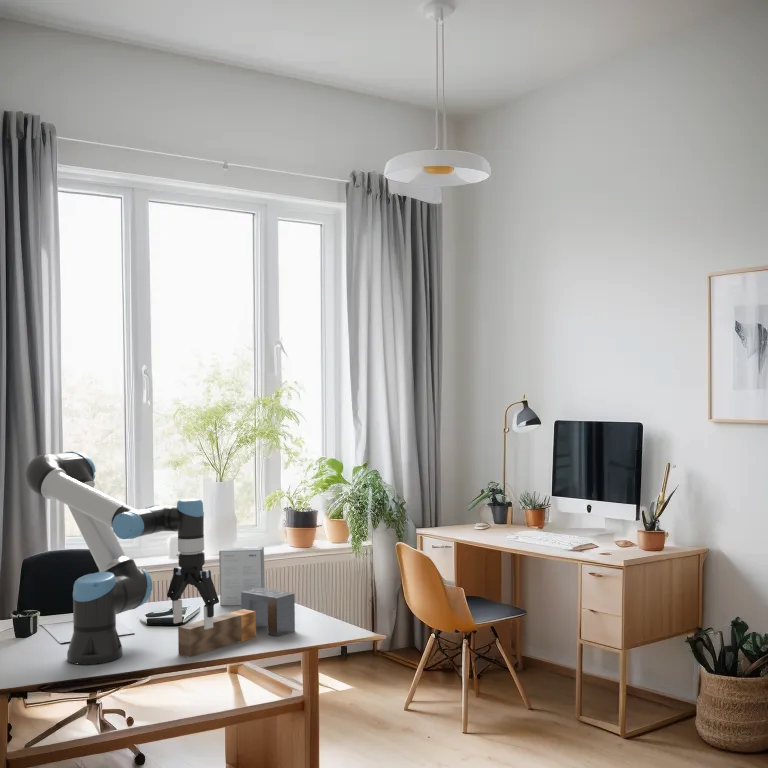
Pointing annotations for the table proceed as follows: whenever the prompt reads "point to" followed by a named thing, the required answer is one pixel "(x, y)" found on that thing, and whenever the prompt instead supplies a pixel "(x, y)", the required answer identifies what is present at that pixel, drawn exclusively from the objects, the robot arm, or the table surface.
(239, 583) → the hard drive box
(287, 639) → the table surface
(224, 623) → the bar
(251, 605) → the socket housing
